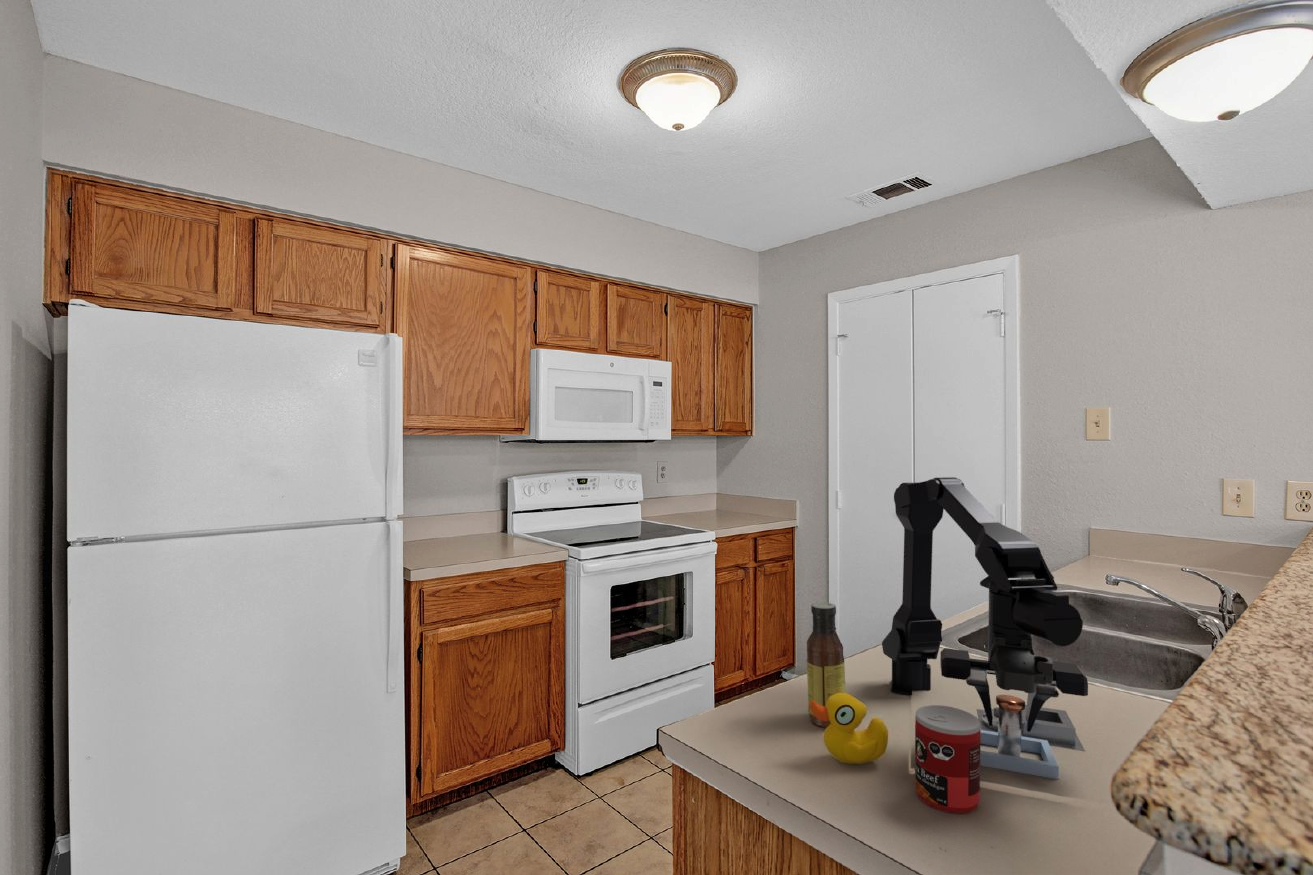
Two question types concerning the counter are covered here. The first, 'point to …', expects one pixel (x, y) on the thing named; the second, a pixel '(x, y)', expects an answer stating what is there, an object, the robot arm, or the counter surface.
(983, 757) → the tray
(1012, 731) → the lock pin
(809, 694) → the sauce bottle
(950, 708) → the canned food
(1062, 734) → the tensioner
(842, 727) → the duckling
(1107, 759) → the counter surface
